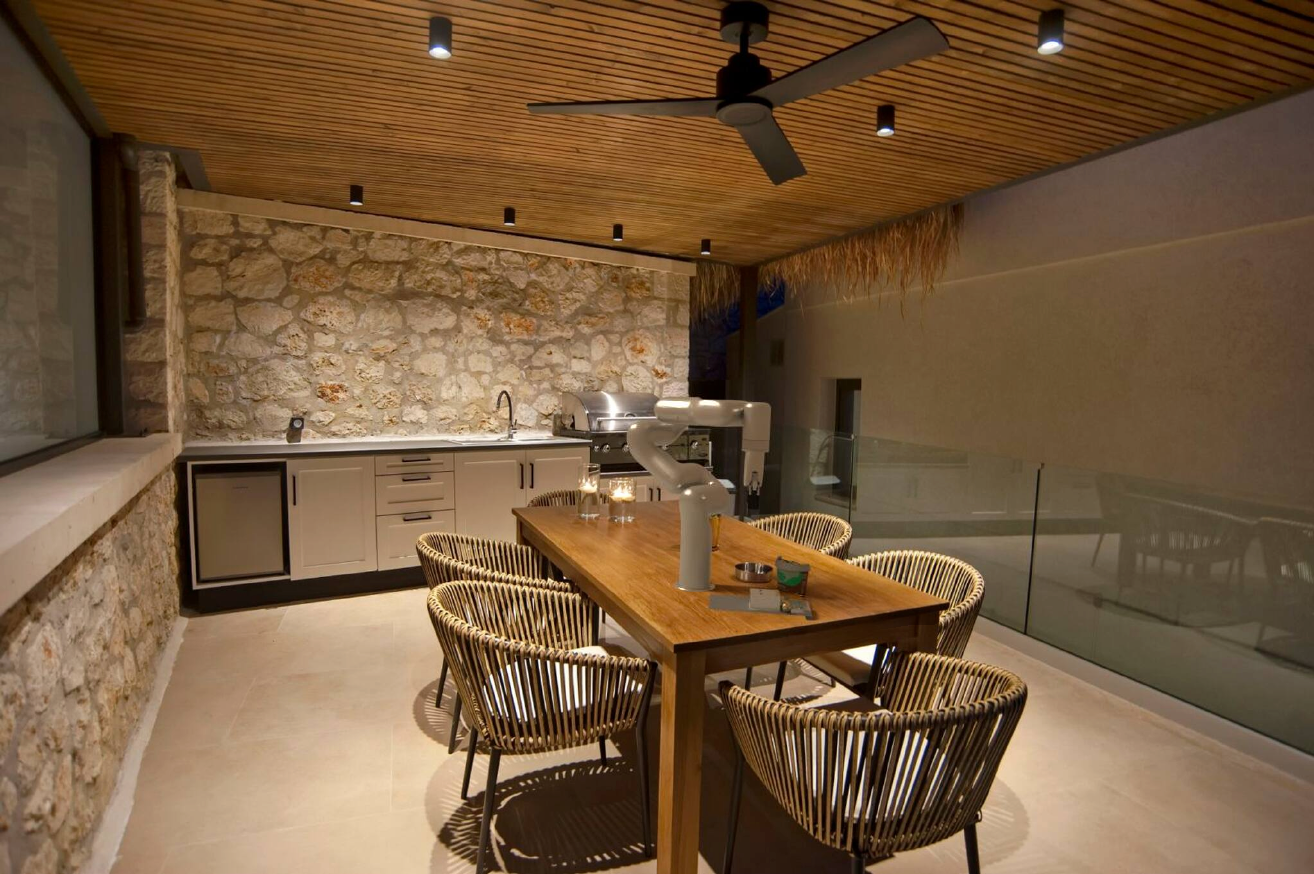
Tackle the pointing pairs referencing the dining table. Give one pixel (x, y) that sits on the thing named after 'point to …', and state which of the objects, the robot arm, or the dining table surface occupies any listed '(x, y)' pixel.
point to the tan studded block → (764, 599)
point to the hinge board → (742, 605)
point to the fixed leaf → (795, 606)
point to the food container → (792, 576)
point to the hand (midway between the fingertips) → (752, 506)
